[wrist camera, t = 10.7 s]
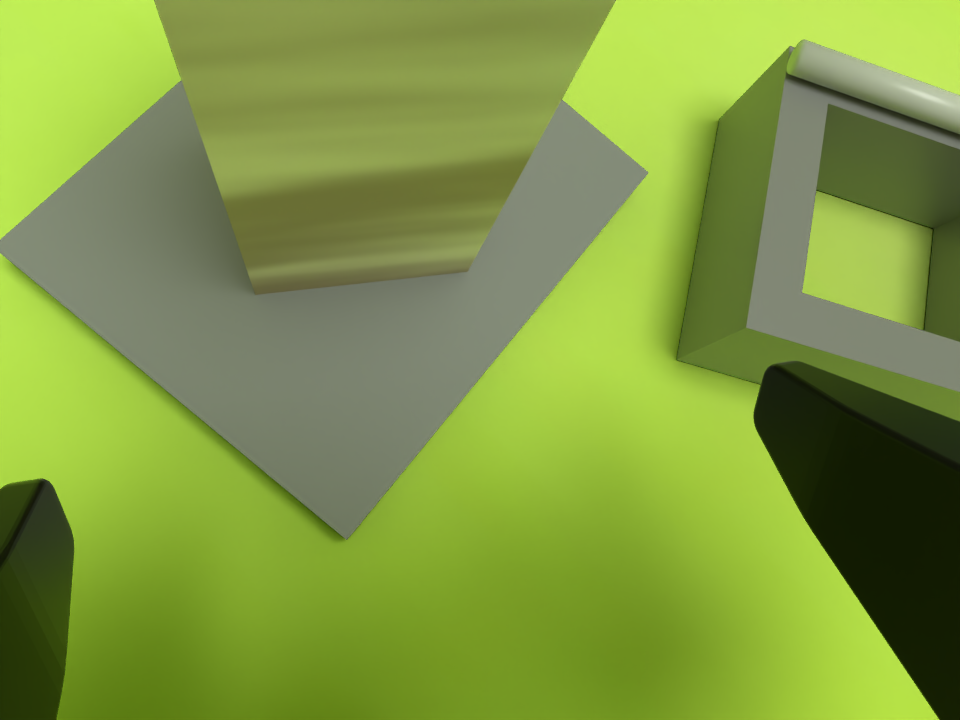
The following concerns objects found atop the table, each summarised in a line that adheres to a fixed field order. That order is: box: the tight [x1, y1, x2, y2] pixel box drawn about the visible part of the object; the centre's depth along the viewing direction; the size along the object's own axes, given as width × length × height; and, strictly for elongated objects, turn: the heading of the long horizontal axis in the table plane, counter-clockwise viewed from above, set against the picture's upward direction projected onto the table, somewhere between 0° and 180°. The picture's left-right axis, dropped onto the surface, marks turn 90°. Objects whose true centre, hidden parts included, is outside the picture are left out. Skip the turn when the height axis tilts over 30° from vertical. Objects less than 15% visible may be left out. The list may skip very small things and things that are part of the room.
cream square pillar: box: [154, 0, 616, 295], centre depth 12 cm, size 4×5×12 cm
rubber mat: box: [0, 80, 648, 540], centre depth 19 cm, size 12×10×1 cm
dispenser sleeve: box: [677, 40, 960, 421], centre depth 19 cm, size 7×8×4 cm
